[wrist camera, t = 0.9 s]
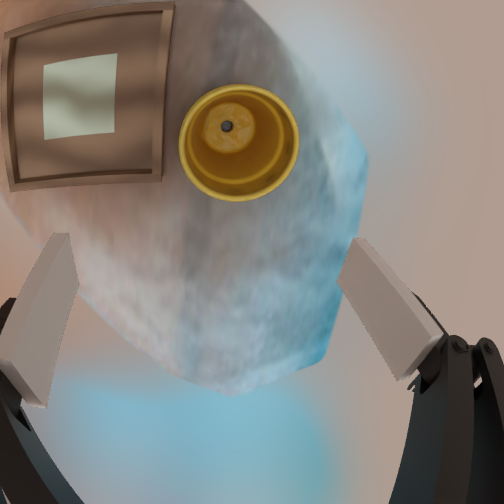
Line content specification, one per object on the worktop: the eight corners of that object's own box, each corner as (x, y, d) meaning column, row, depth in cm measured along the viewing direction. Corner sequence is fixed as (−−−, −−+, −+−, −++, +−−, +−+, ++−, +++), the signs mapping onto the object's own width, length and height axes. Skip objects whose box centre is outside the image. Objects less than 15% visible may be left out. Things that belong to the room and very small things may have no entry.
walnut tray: (14, 33, 17) (4, 32, 15) (175, 6, 21) (174, 1, 19) (18, 184, 28) (10, 192, 26) (162, 174, 32) (161, 182, 30)
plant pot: (161, 127, 29) (151, 148, 21) (230, 64, 27) (248, 59, 19) (223, 185, 35) (237, 224, 27) (288, 128, 32) (323, 150, 24)
